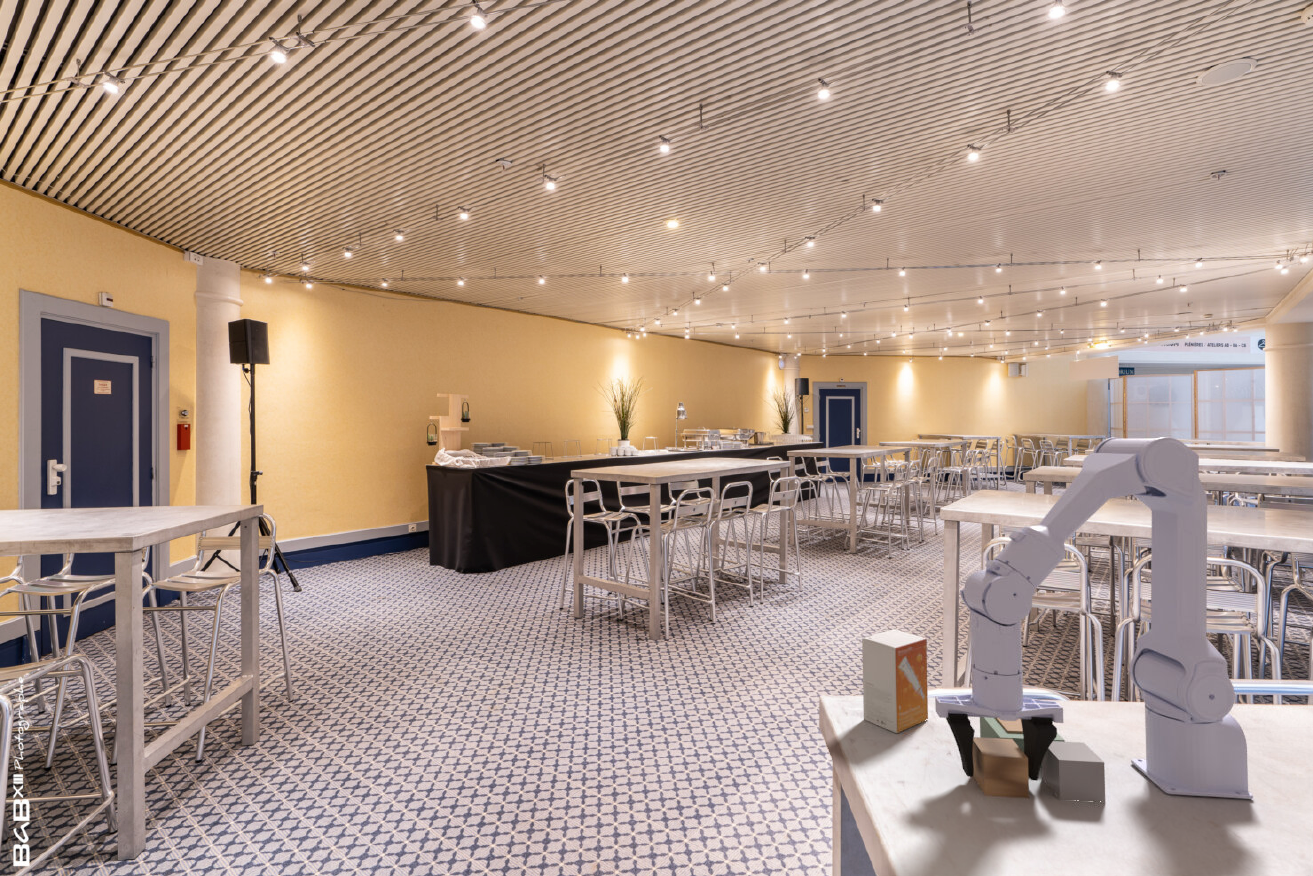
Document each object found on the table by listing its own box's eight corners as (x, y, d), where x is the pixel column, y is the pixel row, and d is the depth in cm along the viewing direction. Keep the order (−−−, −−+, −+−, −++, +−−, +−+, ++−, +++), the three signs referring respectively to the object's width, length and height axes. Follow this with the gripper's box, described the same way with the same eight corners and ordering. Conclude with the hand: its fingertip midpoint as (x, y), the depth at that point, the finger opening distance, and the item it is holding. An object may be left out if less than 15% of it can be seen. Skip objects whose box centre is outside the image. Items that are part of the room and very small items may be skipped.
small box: (897, 735, 95) (895, 648, 95) (862, 720, 101) (860, 637, 101) (929, 720, 100) (927, 637, 100) (894, 707, 105) (892, 628, 105)
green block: (1038, 742, 93) (1038, 712, 93) (1065, 770, 85) (1064, 738, 85) (980, 739, 94) (979, 710, 94) (1001, 767, 86) (1000, 735, 86)
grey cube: (1084, 781, 82) (1083, 742, 82) (1105, 803, 77) (1104, 762, 77) (1042, 779, 82) (1041, 740, 82) (1060, 801, 77) (1058, 760, 78)
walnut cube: (1013, 777, 83) (1012, 739, 83) (1029, 799, 78) (1027, 758, 78) (972, 775, 84) (971, 737, 84) (985, 796, 79) (984, 755, 79)
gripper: (944, 677, 78) (947, 787, 78) (1074, 681, 76) (1077, 795, 76) (930, 657, 85) (932, 759, 85) (1047, 661, 83) (1050, 765, 83)
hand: (999, 774), depth 81 cm, fingers open, 7 cm apart
